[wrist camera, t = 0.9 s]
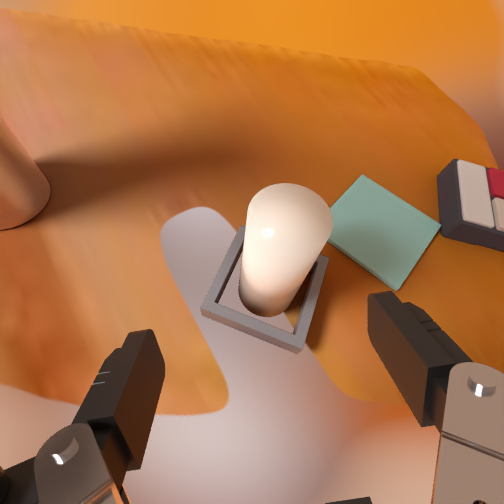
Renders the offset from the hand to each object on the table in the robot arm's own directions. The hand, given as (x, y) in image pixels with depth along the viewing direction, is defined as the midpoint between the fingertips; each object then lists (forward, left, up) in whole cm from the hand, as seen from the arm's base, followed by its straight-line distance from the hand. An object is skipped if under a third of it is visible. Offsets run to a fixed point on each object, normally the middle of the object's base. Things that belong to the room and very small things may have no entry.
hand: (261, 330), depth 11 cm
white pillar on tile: (-4, +10, -20) cm, 23 cm away
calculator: (+12, +38, -21) cm, 45 cm away
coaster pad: (+1, +25, -20) cm, 32 cm away
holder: (-4, +9, -20) cm, 22 cm away
